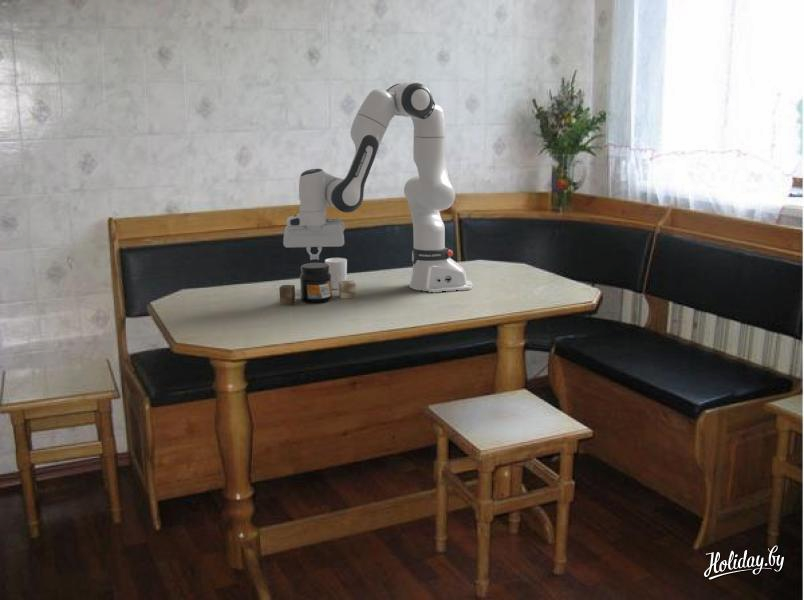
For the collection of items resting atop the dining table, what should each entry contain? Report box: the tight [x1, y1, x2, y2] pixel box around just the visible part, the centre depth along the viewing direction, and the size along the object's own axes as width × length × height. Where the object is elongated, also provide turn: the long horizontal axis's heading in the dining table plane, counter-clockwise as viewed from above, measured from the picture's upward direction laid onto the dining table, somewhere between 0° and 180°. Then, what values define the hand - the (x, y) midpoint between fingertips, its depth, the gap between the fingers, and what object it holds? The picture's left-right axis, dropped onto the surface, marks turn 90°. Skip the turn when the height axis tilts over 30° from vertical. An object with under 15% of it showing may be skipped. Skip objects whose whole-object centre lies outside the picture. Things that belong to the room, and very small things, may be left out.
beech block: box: [338, 280, 357, 300], centre depth 292 cm, size 5×5×5 cm
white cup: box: [324, 257, 348, 290], centre depth 305 cm, size 8×8×10 cm
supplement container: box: [299, 262, 333, 304], centre depth 287 cm, size 10×10×12 cm
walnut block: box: [278, 284, 296, 306], centre depth 283 cm, size 4×4×6 cm
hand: (314, 260), depth 285 cm, fingers closed
